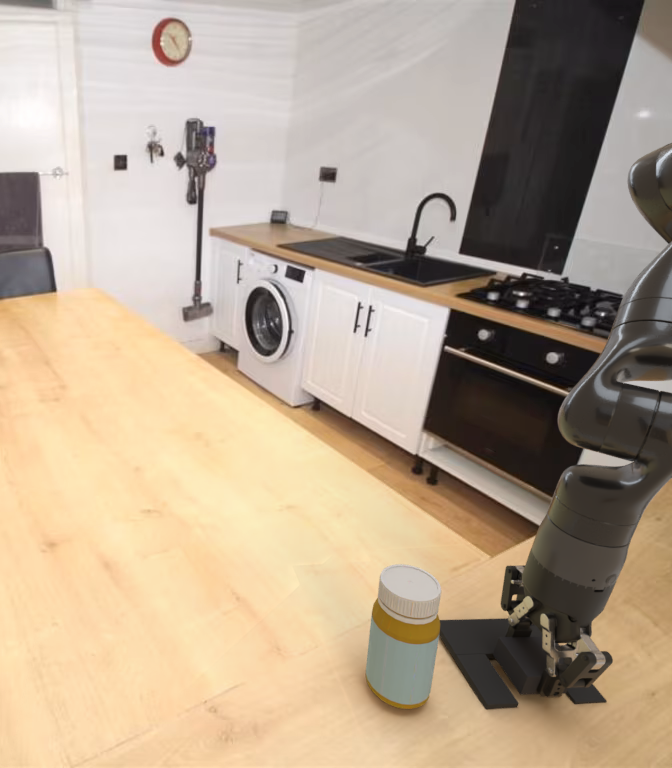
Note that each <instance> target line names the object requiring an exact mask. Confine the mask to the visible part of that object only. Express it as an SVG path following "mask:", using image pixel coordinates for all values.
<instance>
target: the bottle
mask: <svg viewBox="0 0 672 768" xmlns="http://www.w3.org/2000/svg"><path fill="white" fill-rule="evenodd" d="M377 588H378V590H377V591H378V593H377V598H376V599H375V601H374V602H373V603H372V610H371V617H370V626H369V634H368V635H369V636H368V645H367V654H366V662H365V663H366V664H365V679H366V683H367V686H368V687H369V689H370V691H372V693H374V695H375V696H376V697H378V699H380V700H381V701H382V702H384V703H386V704H387V705H389V706H392V707H394V708H397V709H401V710H409V709H410V710H412V709H418V708H420V707H422V706H423V705H425V704H426V703H427V702H428V700H429V699H430V694H431V691H432V685H433V678H434V672H435V666H436V659H437V653H438V648H439V647H438V645H439V640H440V636H439V634H440V620H441V619H440V616H439V610H440V609H439V608H440V604H441V597H442V586H441V584H440V582H439V580H438V579H437V578H436V577H435V576H434V575H433V574H432V573H430V572H428V571H427V570H425V569H423V568H420V567H418V566H415V565H411V564H404V563H398V564H397V563H396V564H391V565H388V566H386V567H384V568H383V569H382V570H381V572H380V574H379V581H378V587H377Z"/></svg>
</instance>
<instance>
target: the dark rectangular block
mask: <svg viewBox="0 0 672 768" xmlns="http://www.w3.org/2000/svg"><path fill="white" fill-rule="evenodd" d="M493 656H494V657H495V659H494V660H496V662H497V663H498V665H499V666H500V667H501V669H502V670H503V672H504V673H505V675H506V676H507V678H508V679H509V680H510V682H511V683H512V685H513V686H514V687H515V689H516V690H517V692H518V694H519V695H521V696H523V695H524V696H525V695H539V694H538V692H537V691H536V689H537V687H538V685H539V682H540V680H541V677H542V676H541V675H542V673H543V670H544V669H546V653H545V652H544V651H543V650H542V636H530V637H499V638H498V641H497V644H496V646H495V649H494V652H493ZM559 664H563V661H562V660H561V659H560V658H559ZM567 690H568V688H565V689H564V691H563V694H562V695H564V694H565V695H566V692H567Z"/></svg>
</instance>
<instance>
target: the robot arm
mask: <svg viewBox="0 0 672 768" xmlns="http://www.w3.org/2000/svg"><path fill="white" fill-rule="evenodd" d="M627 188H628V192H629V194H630V198H631V200H632V202H633V205H634V206H635V207H636V209H637V211H638V212H639V214H640V215H641V216H642V218H643V219H644V220H645V221H646V222H647V223H648V225H649V226H650V227H651V228H652V229H653V230H654V232H656V233H657V234H658V236H660V237H661V239H663V240H664V241H665V242H666V243H667V245H666V246H665V247H664V249H662V250H661V252H660V253H658V254H657V255H656V257H654V258H653V259H652V260H651V262H650V263H648V264H647V266H645V268H643V270H642V271H641V272H640V273H639V274H638V275H637V277H635V279H634V280H633V281H632V283H631V284H630V286H629V287H628V288H627V289H626V292H625V293H624V295H623V297H622V299H621V302H620V303H619V306H618V309H617V312H616V314H615V317H614V321H613V323H612V326H611V329H610V333H609V334H608V337H607V340H606V342H605V344H604V347H603V349H602V351H601V352H600V354H599V355H598V356H597V358H596V360H595V362H593V364H592V366H591V367H590V368H589V369H588V370H587V372H585V374H584V375H583V376H582V377H581V378H580V379H579V380H578V382H577V383H576V384H575V385H574V386H573V387H572V389H571V390H570V391H569V392H568V394H567V395H566V396H565V398H564V399H563V401H562V403H561V404H560V407H559V409H558V412H557V419H556V422H557V427H558V431H559V433H560V434H561V436H562V438H563V439H564V440H565V441H566V442H567V443H569V444H570V445H573V446H574V447H577V448H581V449H583V450H588V451H591V452H595V453H599V454H602V455H606V456H610V457H614V458H617V459H620V460H625V461H627V462H629V463H628V464H625V465H619V466H617V465H615V466H614V465H611V466H610V465H600V464H588V463H583V464H581V463H580V464H574V465H571V466H568V467H566V468H565V469H564V470H563V471H562V473H561V474H560V476H559V479H558V481H557V483H556V486H555V490H554V492H553V494H552V497H551V500H550V503H549V505H548V508H547V511H546V514H545V516H544V517H543V519H542V520H541V522H540V525H539V526H538V529H537V530H536V534H535V536H534V540H533V542H532V546H531V548H530V551H529V554H528V556H527V559H526V562H525V564H524V565H506V566H505V569H504V577H503V585H502V592H501V596H500V608H501V610H503V611H504V612H507V614H508V621H509V624H510V625H509V628H508V631H507V634H506V636H505V637H530V635H531V633H532V629H531V628H530V626H534V625H535V626H537V627H538V628H539V630H540V632H541V633H542V650H543V651H544V652H545V653H546V669H544V670H543V673H542V675H541V676H542V677H541V680H540V682H539V685H538V687H537V689H536V691H537V692H538V694H537V695H539V696H540V697H541V698H560V697H562V696H563V695H564V694H563V691H564V689H565V688H571V687H590V686H591V685H592V684H593V685H594V683H595V682H596V681H597V680H598V678H600V677H601V675H603V674H604V672H605V671H606V670H607V669H609V668H610V666H612V665H613V662H614V659H613V656H612V654H611V653H610V652H609V651H608V650H600V649H599V648H598V647H597V644H596V643H595V642H594V641H593V639H592V638H591V637H592V635H593V627H592V626H593V625H592V624H593V621H594V620H595V619H596V618H598V616H599V615H601V614H602V613H603V611H604V610H605V609H606V606H607V604H608V602H609V599H610V597H611V594H612V593H613V590H614V588H615V586H616V583H617V581H618V579H619V577H620V575H621V573H622V570H623V568H624V567H625V564H626V561H627V557H628V553H629V549H630V545H631V541H632V539H633V537H634V534H635V532H636V530H637V527H638V525H639V523H640V521H641V519H642V517H643V515H644V513H645V511H646V509H647V508H648V506H649V504H651V502H652V500H653V499H654V498H655V497H656V496H657V494H658V493H659V492H660V491H661V490H662V489H663V488H664V486H665V485H666V484H667V483H669V482H670V480H672V392H670V391H664V390H659V389H655V388H650V387H646V386H641V385H636V384H631V383H628V382H668V381H672V142H669V143H667V144H665V145H663V146H661V147H658V148H657V149H655V150H651V152H648V153H647V154H644V155H643V156H641V157H640V158H638V159H637V160H636V161H635V162H634V163H633V164H632V165H631V167H630V169H629V171H628V174H627ZM514 596H516V599H513V597H514ZM555 643H558V644H559V645H555ZM561 657H564V662H563V664H559V658H561Z"/></svg>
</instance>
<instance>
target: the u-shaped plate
mask: <svg viewBox="0 0 672 768" xmlns="http://www.w3.org/2000/svg"><path fill="white" fill-rule="evenodd" d="M439 620H440V634H439V638H440V639H441V640H442V642H443V643H444V645H445V647H446V649H447V650H448V652H449V654H450V655H451V656H452V658H453V660H454V662H455V664H456V665H457V666H458V668H459V670H460V671H461V673H462V674H463V676H464V678H465V679H466V681H467V683H468V684H469V686H470V688H471V689H472V691H473V693H474V694H475V696H476V697H477V699H478V700H479V702H480V703H481V705H482V707H483V708H484V710H497V709H498V710H499V709H501V710H502V709H517V708H518V707H519V704H520V703H519V701H518V700H517V698H516V697H515V696H514V694H513V693H512V691H511V690H510V688H509V687H508V686H507V684H506V682H505V680H504V679H503V678H502V676H501V674H499V672H498V671H497V669H496V667H494V665H493V663H492V662H491V660H496V659H495V657H494V656H493V652H494V649H495V646H496V644H497V641H498V638H499V637H505V636H506V634H507V631H508V628H509V625H510V624H509V621H508V618H507V617H506V618H469V619H468V618H467V619H439ZM530 628H531V629H532V633H531V635H530V636H542V633H541V632H540V630H539V628H538V627H537V626H535V625H534V626H530ZM555 645H560V643H555ZM560 659H561V660H562V661H563V662H564V657H561V658H560ZM565 695H566V696H567V698H569V699H570V701H571V702H572V703H573V704H574V705H587V704H604V703H605V704H606V703H607V702H608V701H607V699H606V698H605V697H604V696H603V695H602V693H601V692H600V691H599V690H598V689H597V688H596V686H595V685H594V683H593V684H592V685H591V686H590V687H571V688H568V690H567V692H566V694H565Z"/></svg>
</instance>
